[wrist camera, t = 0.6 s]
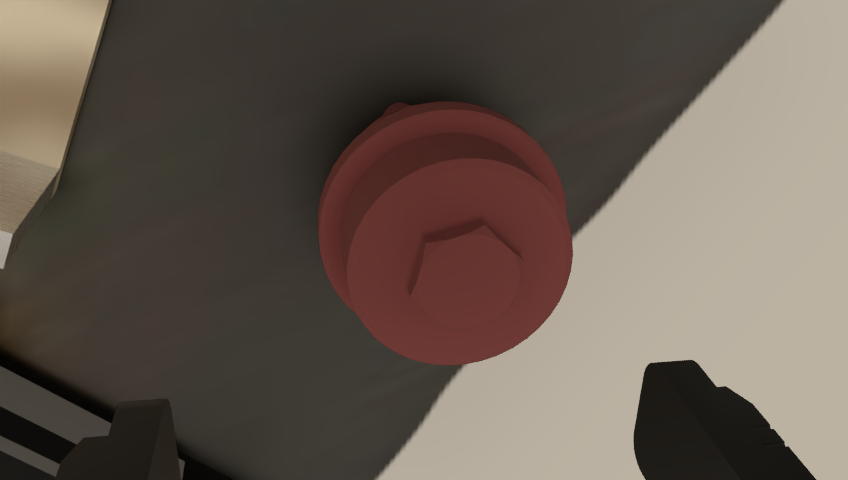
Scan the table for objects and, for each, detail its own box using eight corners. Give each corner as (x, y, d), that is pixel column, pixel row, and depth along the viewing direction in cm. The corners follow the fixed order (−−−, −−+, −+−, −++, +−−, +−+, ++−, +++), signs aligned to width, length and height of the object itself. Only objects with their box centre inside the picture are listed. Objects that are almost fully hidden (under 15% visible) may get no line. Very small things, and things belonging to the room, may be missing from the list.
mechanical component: (336, 39, 36) (540, 89, 39) (291, 239, 40) (480, 273, 42) (364, 115, 25) (647, 178, 28) (297, 382, 29) (553, 416, 31)
